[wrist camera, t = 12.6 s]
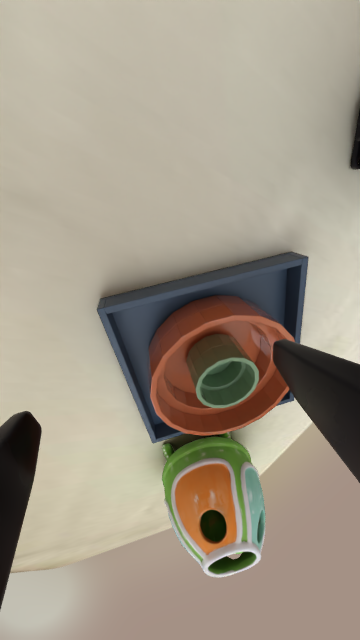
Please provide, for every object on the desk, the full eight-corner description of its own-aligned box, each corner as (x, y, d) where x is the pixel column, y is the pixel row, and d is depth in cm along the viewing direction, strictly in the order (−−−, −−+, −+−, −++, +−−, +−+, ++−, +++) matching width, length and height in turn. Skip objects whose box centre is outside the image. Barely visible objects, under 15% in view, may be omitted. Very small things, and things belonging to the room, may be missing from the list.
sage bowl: (236, 325, 23) (258, 349, 19) (239, 368, 26) (259, 397, 22) (180, 340, 22) (191, 369, 18) (190, 382, 25) (201, 415, 21)
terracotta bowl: (270, 277, 22) (305, 296, 17) (268, 380, 29) (293, 412, 24) (130, 313, 21) (130, 342, 16) (163, 411, 27) (169, 450, 23)
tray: (291, 251, 21) (308, 256, 19) (283, 387, 30) (294, 400, 28) (100, 298, 19) (96, 309, 17) (151, 426, 28) (152, 443, 26)
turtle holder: (192, 497, 39) (215, 604, 28) (142, 446, 30) (149, 576, 19) (257, 467, 38) (304, 565, 28) (226, 407, 29) (277, 518, 19)
